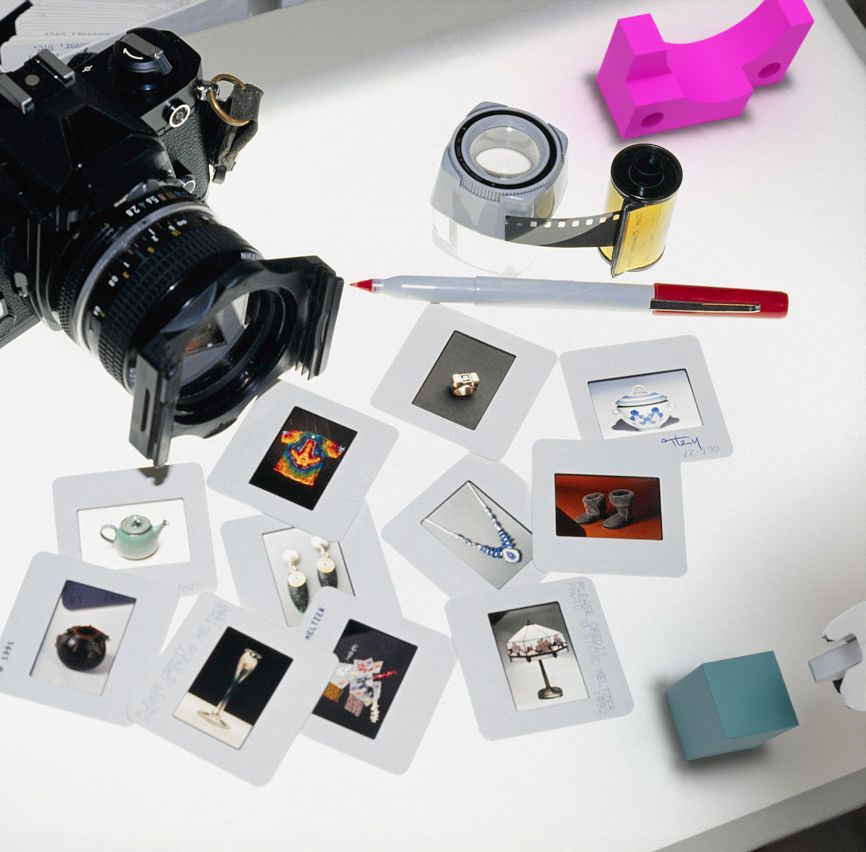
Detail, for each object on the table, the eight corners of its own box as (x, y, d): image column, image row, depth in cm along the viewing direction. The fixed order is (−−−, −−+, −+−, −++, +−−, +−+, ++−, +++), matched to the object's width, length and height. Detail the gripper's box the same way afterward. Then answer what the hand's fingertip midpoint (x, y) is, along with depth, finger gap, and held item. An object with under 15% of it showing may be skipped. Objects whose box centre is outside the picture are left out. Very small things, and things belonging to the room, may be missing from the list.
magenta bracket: (621, 142, 100) (646, 80, 93) (594, 83, 102) (618, 18, 95) (790, 108, 101) (828, 45, 95) (760, 50, 104) (795, -15, 97)
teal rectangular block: (728, 679, 82) (773, 650, 74) (751, 748, 80) (800, 725, 72) (662, 692, 81) (701, 663, 74) (684, 761, 79) (726, 739, 72)
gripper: (904, 696, 56) (755, 766, 72) (1202, 640, 57) (989, 720, 74) (843, 543, 59) (714, 643, 75) (1127, 493, 60) (939, 602, 77)
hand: (850, 681), depth 74 cm, fingers closed
